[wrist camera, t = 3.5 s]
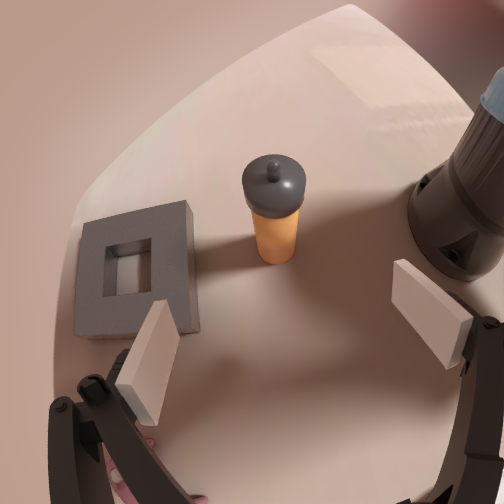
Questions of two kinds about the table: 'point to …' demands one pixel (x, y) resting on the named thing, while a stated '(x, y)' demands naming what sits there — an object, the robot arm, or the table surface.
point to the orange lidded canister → (274, 204)
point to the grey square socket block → (162, 271)
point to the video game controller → (123, 488)
